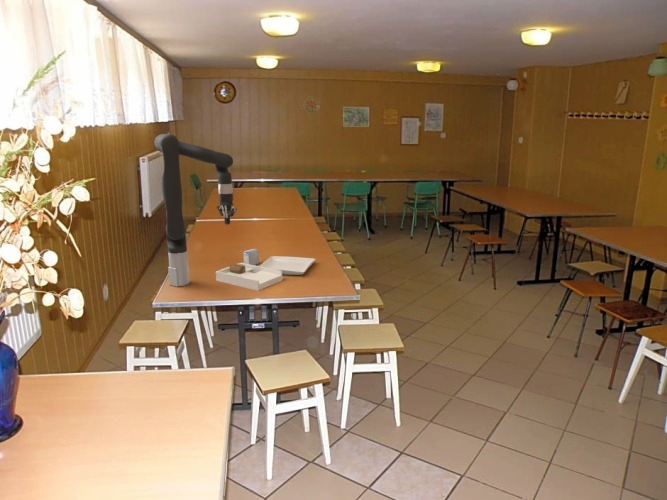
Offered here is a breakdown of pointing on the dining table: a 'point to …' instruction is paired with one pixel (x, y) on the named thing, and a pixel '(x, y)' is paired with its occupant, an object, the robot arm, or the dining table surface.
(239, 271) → the walnut block
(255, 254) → the medicine box
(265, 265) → the square plate
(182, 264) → the robot arm
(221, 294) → the dining table surface
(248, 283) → the box
